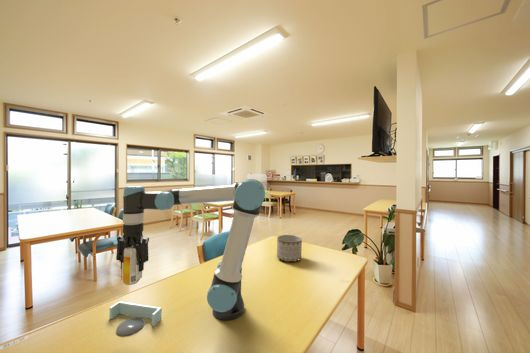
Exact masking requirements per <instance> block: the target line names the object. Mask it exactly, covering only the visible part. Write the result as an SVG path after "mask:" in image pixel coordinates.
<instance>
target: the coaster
mask: <svg viewBox="0 0 530 353" xmlns="http://www.w3.org/2000/svg"><path fill="white" fill-rule="evenodd" d="M144 325H145V320H144V319H143V318H142V317H134V318H130V319H127V320H124V321H122V322H120V324H118V325H117V327H116V330H115V332H116V334H117V335H118V336H120V337H122V336H123V337H127V336H132V335H134V334H136V333H138V332H139V331H141V330H142V329H143V328H144Z"/></svg>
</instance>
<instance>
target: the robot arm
mask: <svg viewBox="0 0 530 353" xmlns="http://www.w3.org/2000/svg"><path fill="white" fill-rule="evenodd" d="M265 197H266V191H265V187H264V185H263V183H262V182H261V181H260V180H257V179H254V178H252V179H251V178H249V179H245V180H243V181H238V182H234V183H233V184H228V185H227V184H226V185H215V186H214V185H213V186H201V187H187V188H173V189H166V190H159V191H157V190H156V191H155V190H153V191H148V190H145V187H144V186H143V185H129V186H125V187H124V188H123V196H122V201H123V202H122V203H123V205H122V206H123V208H122V210H123V211H122V223H123V224H122V233H123V235H119V236H117V237H116V241H117V246H116V256H115V257H116V261H119V262H120V270H121V279H123V268H124V249H125V247H126V248H127V247H130V246H133V248H135V249H136V257H137V261H138V263H137V264H136V280H139V279H140V280H141V279H142V278H143V271H144V267H145V263H147V262H148V261H149V242H150V238H149V237H145V236H144V235H143V232H144V216H145V215H144V214H145V210H156V211H157V210H159V211H163V210H164V211H166V210H171V209H172V207H174V206H180V205H181V206H182V205H190V204H192V205H194V204H204V203H205V204H208V203H220V202H233V204H232V206H231V207H232V210H233V212H234V214H233V218H232V222H231V226H230V230H229V233H228V236H227V240H226V243H225V248H224V251H223V255H222V258H221V261H220V262H219V263H218V264H217V266H216V269H214V274H213V278H212V280H211V284H210V288H208V291H207V295H206V300H207V301H206V302H207V304H208V305H209V306H210V308H211V309H212V315H213V316H214V318H216V319H217V320H221V321H231V320H236V319H238V318H240V317H241V316H242V315H243V314H244V312H245V302H244V299H243V295H242V280H243V275H242V271H243V268H242V267H243V261H244V260H245V255H246V251H247V248H248V247H247V246H248V243H249V240H250V236H251V233H252V229H253V225H254V221H255V219H256V218H257V217H259V216H260V213H261V210H262V207H263V204H264V200H265ZM136 245H137V246H136ZM140 280H139V281H140Z"/></svg>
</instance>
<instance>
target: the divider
mask: <svg viewBox="0 0 530 353" xmlns="http://www.w3.org/2000/svg"><path fill="white" fill-rule="evenodd" d="M162 308H163V307H162V306H153V305H146V304H139V303H133V302H126V301H121V300H119V301H118V302H116V303H114V304H113V305H111V306H110V307H109V315H108V316H109V317H108V318H109V320H112V319H114V318H115V317H116V316H118V315H119V314H120V315H125V316H131V317H136V318H142V319H143V318H144V319H151V326H152V327H154V326H156V325H157V324H158V323H159V322H160V321H161V320H162Z"/></svg>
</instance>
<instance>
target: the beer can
mask: <svg viewBox="0 0 530 353" xmlns="http://www.w3.org/2000/svg"><path fill="white" fill-rule="evenodd" d="M136 246H137V245H136ZM137 263H138V261H137V257H136V249H135V248H133V246H130V247H127V248H126V247H125V249H124V268H123V278H122V283H123V284H124V285H125V286H131V285H135V284H138V282H139V281H140V280H141V278H140V279H139V280H136V264H137Z"/></svg>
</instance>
